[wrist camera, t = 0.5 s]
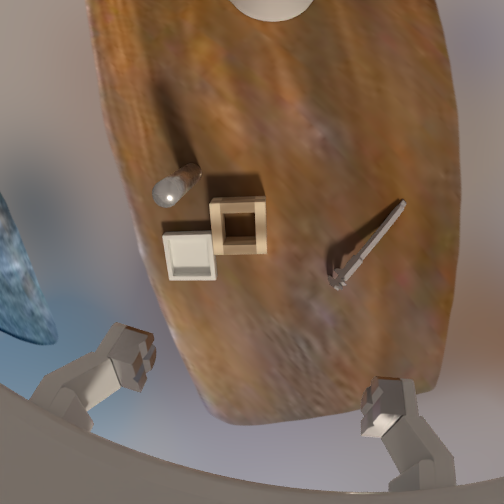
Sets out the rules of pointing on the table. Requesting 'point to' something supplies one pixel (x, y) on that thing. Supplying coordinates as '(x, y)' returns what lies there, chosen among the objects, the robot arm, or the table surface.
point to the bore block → (242, 243)
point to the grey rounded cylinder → (176, 185)
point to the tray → (190, 255)
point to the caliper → (365, 249)
